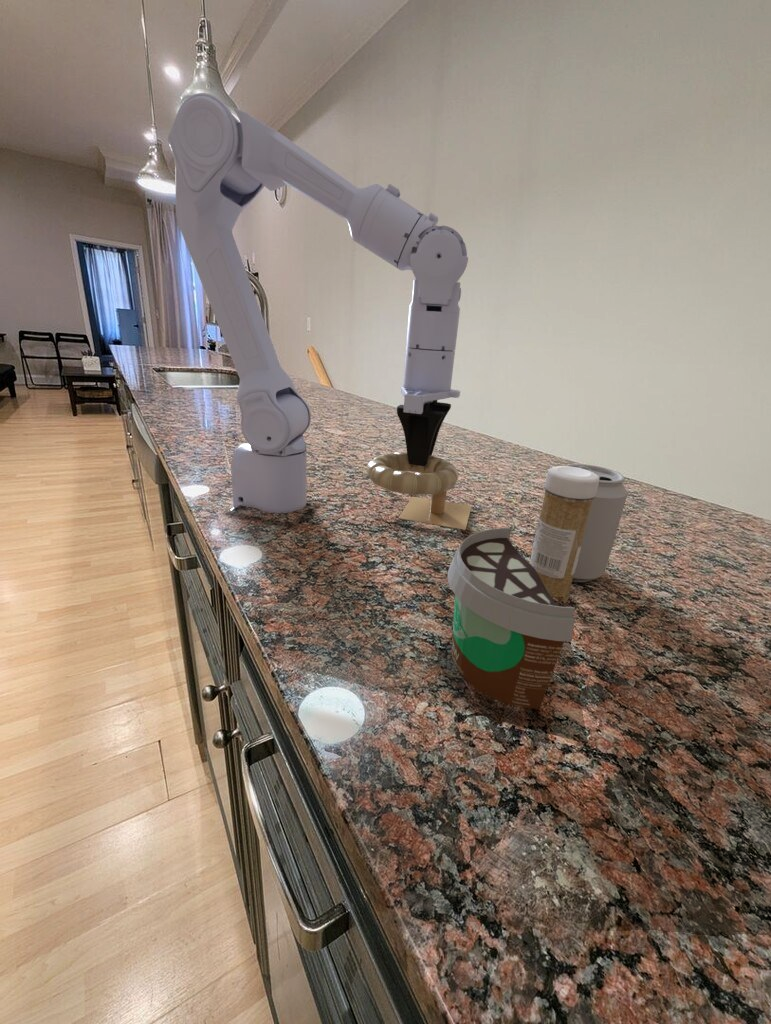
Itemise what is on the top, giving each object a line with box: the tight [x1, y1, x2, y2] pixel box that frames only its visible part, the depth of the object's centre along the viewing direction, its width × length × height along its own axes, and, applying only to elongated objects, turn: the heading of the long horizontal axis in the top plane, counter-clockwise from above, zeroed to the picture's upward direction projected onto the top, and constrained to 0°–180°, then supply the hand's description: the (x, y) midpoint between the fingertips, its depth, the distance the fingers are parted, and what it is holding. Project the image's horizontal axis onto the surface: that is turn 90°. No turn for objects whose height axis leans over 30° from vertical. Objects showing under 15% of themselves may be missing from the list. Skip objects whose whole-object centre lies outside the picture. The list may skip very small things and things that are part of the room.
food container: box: [447, 527, 576, 710], centre depth 33 cm, size 12×6×10 cm, turn 5°
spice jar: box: [529, 465, 599, 605], centre depth 44 cm, size 5×5×13 cm
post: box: [398, 490, 473, 531], centre depth 62 cm, size 9×9×6 cm
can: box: [564, 463, 629, 583], centre depth 50 cm, size 8×8×12 cm
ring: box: [365, 452, 460, 496], centre depth 54 cm, size 11×11×2 cm
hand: (419, 461), depth 57 cm, fingers closed on ring, 2 cm apart
